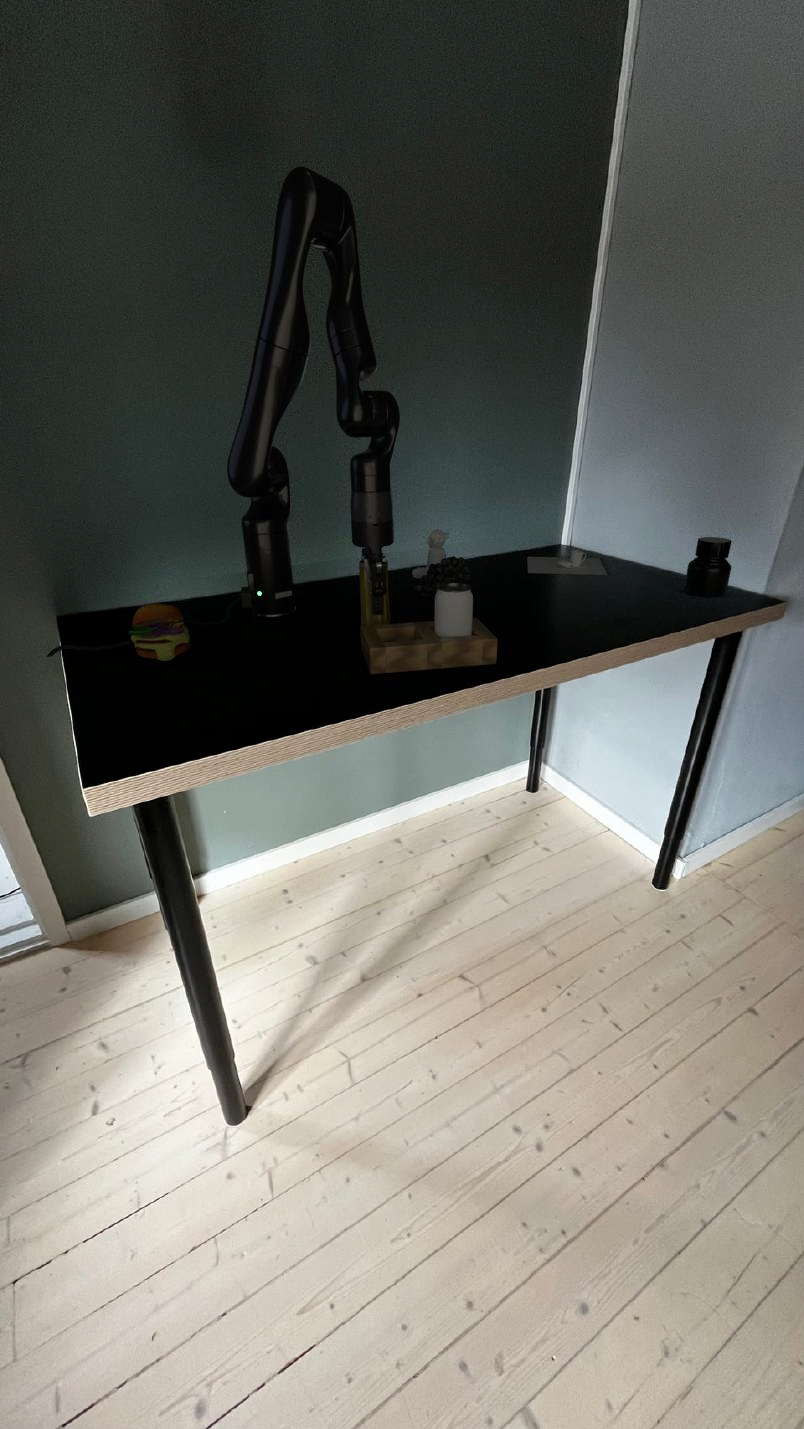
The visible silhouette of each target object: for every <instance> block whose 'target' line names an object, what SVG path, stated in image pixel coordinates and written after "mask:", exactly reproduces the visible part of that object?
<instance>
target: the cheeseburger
mask: <svg viewBox="0 0 804 1429" xmlns="http://www.w3.org/2000/svg"><path fill="white" fill-rule="evenodd" d="M183 621H185V617H184V615H183V613H182V611H181V610H180V609H179V608H178V607H177V606H174V605H169V604H164V603H157V602H156V603H150V604H145V605H143V606H142V605H141V606H140V607H138V609H137V610H136V611H135V614H134V616H133V619H132V623H131V627H132V629H130V630H129V631H128V635H131V636H130V640H131V639H132V641H133V642H135V643H133V644H134V648H135V652H136V654H137V655H138V657H139V656H140V657H142V658H147V659H153V660H158V661H162V662H168V661H171V660H173V659H175V658H176V657H177V656H179V655H181V654H183V653H185V652H186V651H188V650H189V649H190V648H191V640H190V638H191V635H190V633H189V632H190V630H189V628H187V626H186V625H184V623H183Z"/></svg>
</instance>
